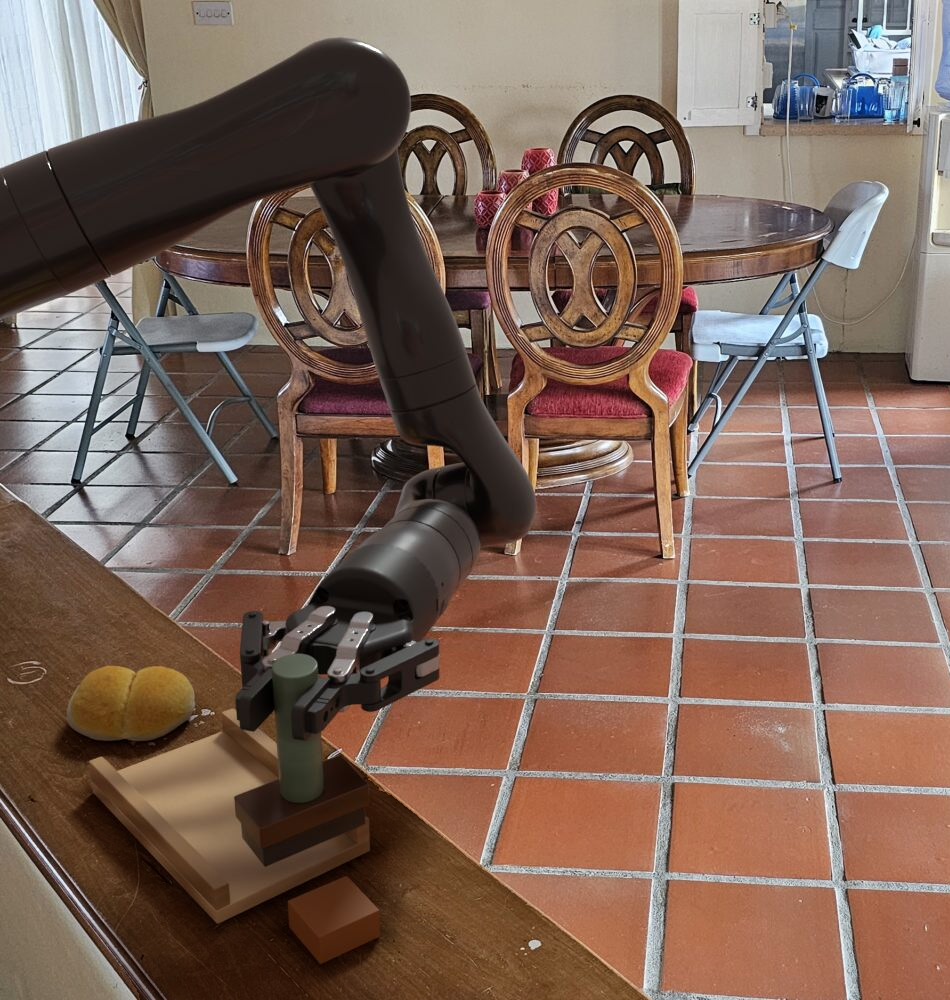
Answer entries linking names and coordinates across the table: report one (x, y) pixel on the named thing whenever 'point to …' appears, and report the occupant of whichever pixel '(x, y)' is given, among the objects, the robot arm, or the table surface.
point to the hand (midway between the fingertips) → (272, 721)
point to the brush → (299, 781)
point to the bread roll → (130, 703)
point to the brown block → (333, 919)
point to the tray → (213, 819)
